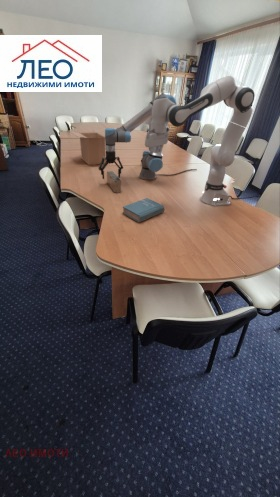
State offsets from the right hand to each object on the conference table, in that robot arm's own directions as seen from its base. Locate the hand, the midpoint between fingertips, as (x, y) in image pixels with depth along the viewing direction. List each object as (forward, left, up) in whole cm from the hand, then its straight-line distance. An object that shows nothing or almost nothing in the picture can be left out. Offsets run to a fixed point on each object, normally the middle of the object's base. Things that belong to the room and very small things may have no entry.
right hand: (155, 153), depth 142 cm
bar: (+27, -28, -34) cm, 52 cm away
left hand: (+29, -35, -29) cm, 54 cm away
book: (+7, +18, -34) cm, 39 cm away
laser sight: (-14, -94, -34) cm, 101 cm away
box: (+48, -101, -34) cm, 117 cm away
